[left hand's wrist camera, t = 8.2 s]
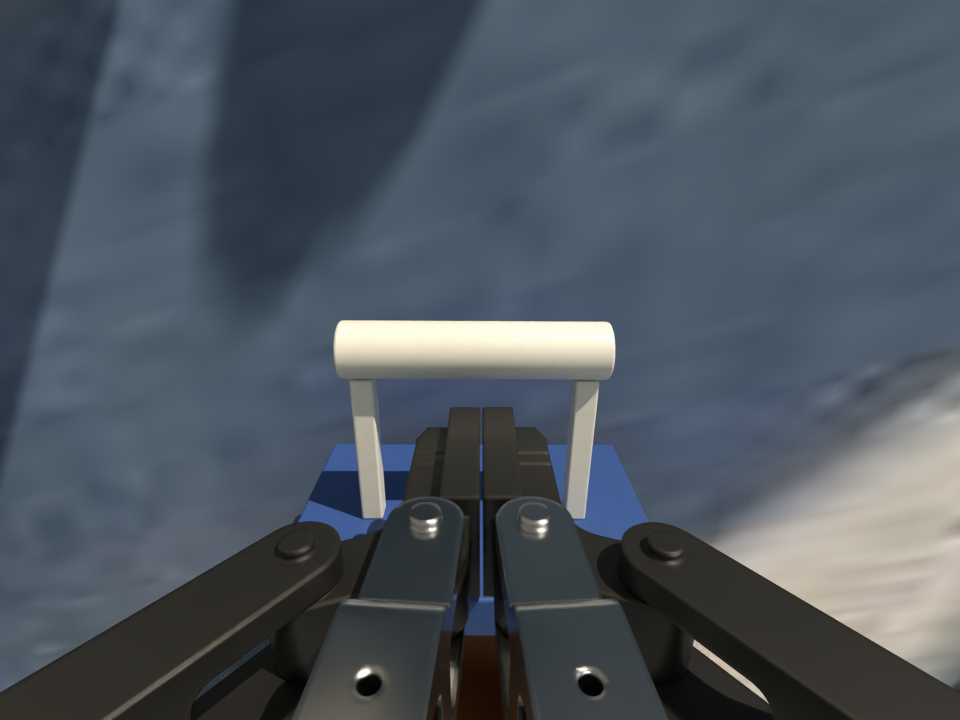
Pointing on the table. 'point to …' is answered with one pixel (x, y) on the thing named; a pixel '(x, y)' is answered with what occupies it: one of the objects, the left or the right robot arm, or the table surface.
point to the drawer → (480, 355)
